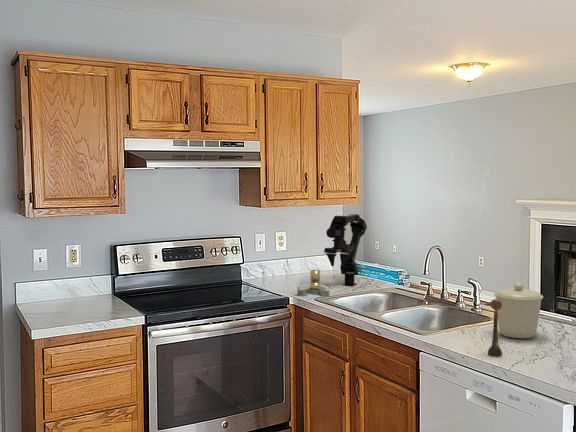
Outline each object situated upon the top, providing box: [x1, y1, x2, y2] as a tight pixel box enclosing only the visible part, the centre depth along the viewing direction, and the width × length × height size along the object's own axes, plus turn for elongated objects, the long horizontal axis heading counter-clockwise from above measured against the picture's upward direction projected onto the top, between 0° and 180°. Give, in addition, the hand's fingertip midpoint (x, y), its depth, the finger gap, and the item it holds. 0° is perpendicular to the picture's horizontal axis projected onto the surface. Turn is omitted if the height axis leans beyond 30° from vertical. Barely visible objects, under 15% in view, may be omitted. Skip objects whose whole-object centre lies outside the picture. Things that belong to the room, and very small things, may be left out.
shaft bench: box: [296, 283, 330, 297], centre depth 322 cm, size 18×17×5 cm
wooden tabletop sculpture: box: [485, 298, 503, 357], centre depth 214 cm, size 6×5×20 cm
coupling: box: [309, 269, 321, 291], centre depth 328 cm, size 5×5×12 cm
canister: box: [494, 282, 544, 340], centre depth 239 cm, size 18×18×21 cm
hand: (337, 266), depth 337 cm, fingers open, 9 cm apart
